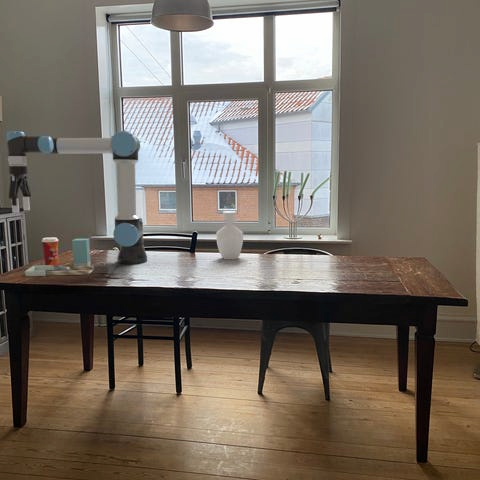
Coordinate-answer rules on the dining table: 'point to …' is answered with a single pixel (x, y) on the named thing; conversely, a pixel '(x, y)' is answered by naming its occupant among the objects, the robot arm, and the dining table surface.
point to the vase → (229, 237)
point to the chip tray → (38, 270)
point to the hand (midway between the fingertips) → (21, 211)
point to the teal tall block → (81, 252)
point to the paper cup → (50, 250)
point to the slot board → (73, 271)
